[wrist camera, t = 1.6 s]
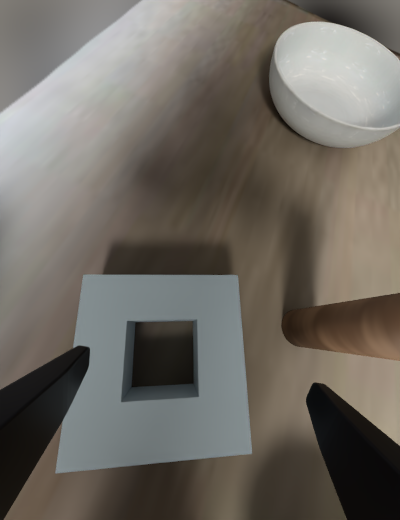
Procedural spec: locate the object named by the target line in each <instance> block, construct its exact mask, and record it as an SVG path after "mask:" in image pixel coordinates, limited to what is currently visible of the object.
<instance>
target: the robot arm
mask: <svg viewBox="0 0 400 520" xmlns="http://www.w3.org/2000/svg"><path fill="white" fill-rule="evenodd" d="M89 361H90V348H89V347H88V346H81V345H79V346H76V347H75V348H73V349H71V350H69V351H67V352H66V353H64V354H62V355H60V356H59V357H57V358H55V359H53V360H52V361H50V362H48V363H46V364H45V365H43V366H41V367H39V368H38V369H36V370H34V371H32V372H31V373H29V374H27V375H25V376H24V377H22V378H20V379H18V380H17V381H15V382H13V383H11V384H10V385H8V386H6V387H4V388H3V389H1V390H0V520H4V518H5V516H6V515H7V513H8V511H9V510H10V508H11V506H12V505H13V503H14V501H15V500H16V498H17V496H18V494H19V493H20V491H21V489H22V488H23V486H24V484H25V483H26V481H27V479H28V478H29V476H30V474H31V473H32V471H33V469H34V468H35V466H36V464H37V463H38V461H39V459H40V458H41V456H42V454H43V453H44V451H45V449H46V448H47V446H48V444H49V443H50V441H51V439H52V438H53V436H54V434H55V433H56V431H57V429H58V428H59V426H60V424H61V423H62V421H63V419H64V417H65V416H66V414H67V412H68V410H69V408H70V406H71V404H72V402H73V400H74V398H75V396H76V393H77V391H78V389H79V387H80V385H81V383H82V381H83V379H84V377H85V375H86V373H87V370H88V368H89ZM306 404H307V407H308V411H309V414H310V417H311V421H312V424H313V428H314V431H315V434H316V438H317V441H318V444H319V447H320V450H321V453H322V456H323V458H324V461H325V464H326V466H327V469H328V471H329V474H330V477H331V479H332V482H333V484H334V487H335V490H336V492H337V495H338V497H339V500H340V503H341V505H342V508H343V510H344V513H345V516H346V518H347V520H400V446H399V445H398V444H397V443H395V442H394V441H393V440H392V439H391V438H389V437H388V436H387V435H386V434H384V433H383V432H382V431H381V430H380V429H378V428H377V427H376V426H375V425H374V424H372V423H371V422H370V421H369V420H367V419H366V418H365V417H364V416H363V415H361V414H360V413H359V412H358V411H357V410H355V409H354V408H353V407H352V406H350V405H349V404H348V403H347V402H346V401H344V400H343V399H342V398H341V397H340V396H338V395H337V394H336V393H335V392H333V391H332V390H331V389H330V388H329V387H327V386H326V385H325V384H321V383H313V384H312V386H311V388H310V390H309V393H308V395H307V397H306Z"/></svg>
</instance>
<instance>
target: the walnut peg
mask: <svg viewBox="0 0 400 520" xmlns="http://www.w3.org/2000/svg"><path fill="white" fill-rule="evenodd" d="M282 331H283V334H284V336H285V338H286V339H287V340H288V341H289V342H290V343H291V344H293V345H295V346H298V347H305V348H312V349H320V350H327V351H334V352H341V353H348V354H355V355H363V356H370V357H377V358H384V359H391V360H398V361H400V293H397V294H391V295H384V296H378V297H372V298H365V299H359V300H353V301H347V302H340V303H334V304H328V305H321V306H315V307H309V308H302V309H296V310H291V311H289V312H288V313H286V315H285V316H284V318H283V320H282Z"/></svg>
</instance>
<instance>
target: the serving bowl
mask: <svg viewBox="0 0 400 520" xmlns="http://www.w3.org/2000/svg"><path fill="white" fill-rule="evenodd" d="M269 86H270V92H271V96H272V99H273V102H274V105H275V107H276V109H277V111H278V113H279V114H280V116H281V117H282V118H283V120H284V121H285V122H286V123H287V124H288V125H289V126H290V127H291V128H292V129H293V130H294V131H296V132H297V133H298V134H300V135H301V136H303V137H305V138H307V139H308V140H311V141H313V142H315V143H318V144H321V145H324V146H329V147H335V148H353V147H359V146H364V145H367V144H370V143H373V142H376V141H378V140H380V139H382V138H384V137H386V136H388V135H389V134H391V133H393V132H394V131H396V130H397V129H398V128H400V60H399V59H398V58H397V57H396V56H395V55H394V54H393V53H392V52H391V51H389V50H388V49H387V48H386V47H384V46H383V45H382V44H380V43H379V42H377V41H376V40H374V39H372V38H370V37H369V36H367V35H365V34H363V33H361V32H358V31H356V30H354V29H351V28H348V27H345V26H342V25H338V24H333V23H328V22H307V23H302V24H298V25H295V26H293V27H291V28H289V29H287V30H286V31H285V32H284V33H283V34H282V35H281V36H280V37H279V38H278V40H277V42H276V44H275V48H274V51H273V55H272V59H271V64H270V72H269Z"/></svg>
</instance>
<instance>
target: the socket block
mask: <svg viewBox="0 0 400 520" xmlns="http://www.w3.org/2000/svg"><path fill="white" fill-rule="evenodd" d="M169 321H193V368H194V384H178V385H161V386H144V387H132V372H133V356H134V340H135V323H136V322H169ZM79 345H81V346H88V347H89V348H90V361H89V368H88V370H87V373H86V375H85V377H84V379H83V381H82V383H81V385H80V387H79V389H78V391H77V393H76V396H75V398H74V400H73V402H72V404H71V406H70V408H69V410H68V412H67V414H66V416H65V417H64V419H63V423H62V430H61V437H60V445H59V452H58V459H57V466H56V473H64V472H74V471H84V470H94V469H104V468H114V467H124V466H134V465H144V464H154V463H164V462H174V461H184V460H194V459H204V458H214V457H224V456H234V455H244V454H252V446H251V433H250V421H249V408H248V396H247V384H246V371H245V359H244V346H243V334H242V321H241V309H240V296H239V284H238V275H83V281H82V288H81V295H80V303H79V310H78V317H77V324H76V331H75V338H74V345H73V348H75V347H76V346H79Z"/></svg>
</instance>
